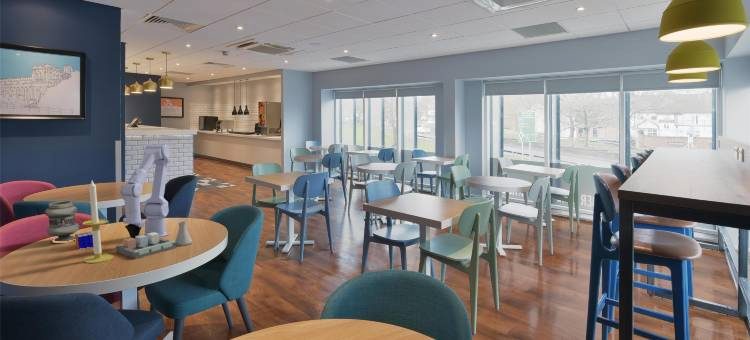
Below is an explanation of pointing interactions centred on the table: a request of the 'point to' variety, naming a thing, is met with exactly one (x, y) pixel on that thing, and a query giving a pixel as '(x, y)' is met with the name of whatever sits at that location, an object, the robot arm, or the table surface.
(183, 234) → the flask
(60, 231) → the apothecary jar
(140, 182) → the robot arm
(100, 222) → the candle
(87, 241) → the rubik's cube
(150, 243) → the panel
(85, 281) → the table surface
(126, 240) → the clay pink cube
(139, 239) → the pale blue tilted box
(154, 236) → the pale grey square block
